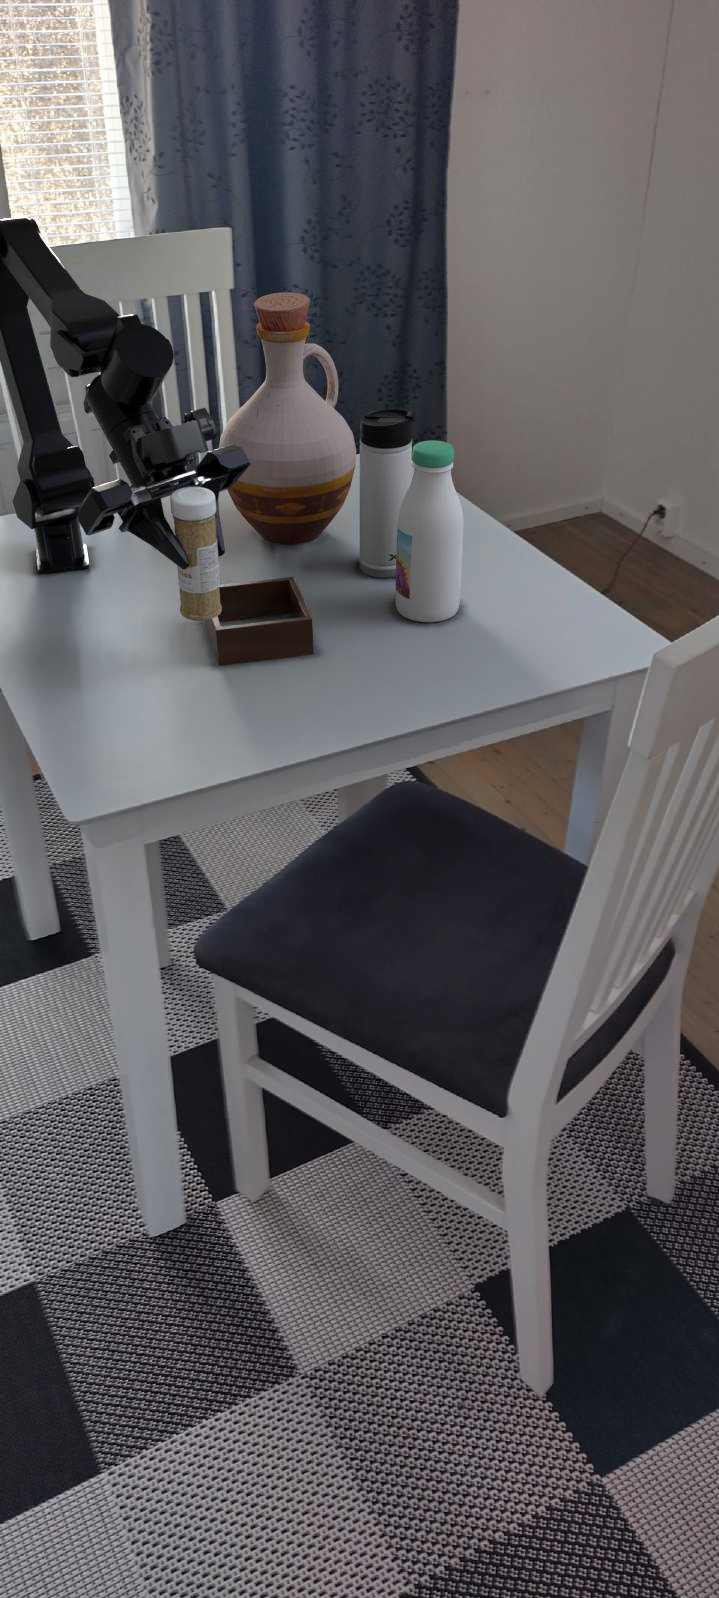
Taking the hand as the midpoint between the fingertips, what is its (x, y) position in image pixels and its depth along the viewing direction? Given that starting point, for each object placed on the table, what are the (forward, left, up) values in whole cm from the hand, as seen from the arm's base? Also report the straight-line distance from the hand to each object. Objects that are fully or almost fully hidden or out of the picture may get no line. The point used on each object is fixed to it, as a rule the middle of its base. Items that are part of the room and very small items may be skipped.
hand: (204, 561), depth 122 cm
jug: (-35, +16, -13) cm, 40 cm away
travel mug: (-21, +25, -13) cm, 35 cm away
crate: (-7, +6, -13) cm, 16 cm away
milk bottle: (-9, +27, -13) cm, 31 cm away
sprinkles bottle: (-1, -1, -7) cm, 7 cm away
